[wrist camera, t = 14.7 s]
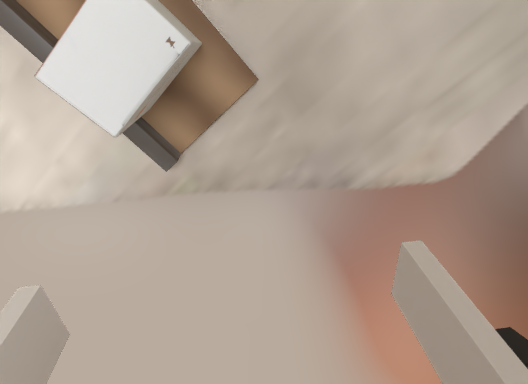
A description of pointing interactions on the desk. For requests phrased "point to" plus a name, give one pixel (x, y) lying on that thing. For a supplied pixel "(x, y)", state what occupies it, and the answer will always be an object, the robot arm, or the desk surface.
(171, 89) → the shelf board
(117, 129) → the small box
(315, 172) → the desk surface
